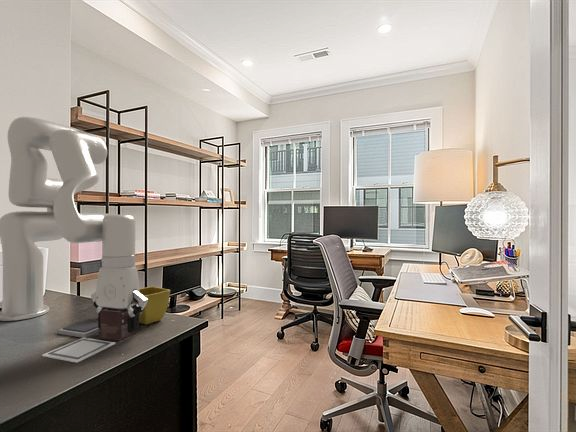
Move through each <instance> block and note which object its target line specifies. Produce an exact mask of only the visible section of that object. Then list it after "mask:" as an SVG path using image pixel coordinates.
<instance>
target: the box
mask: <svg viewBox="0 0 576 432" xmlns="http://www.w3.org/2000/svg"><path fill="white" fill-rule="evenodd" d="M132 309H133V311H134V308H133V307H132ZM100 312H101V313H100V332H99V333H100V334H99V339H101V340H102V339H103V340H115V341H121V340H124V339H125V338H127V337H130V336H131V335H134V333H136V332H137V330H136V331H133V332H131V333H128V317H130V315H129V313H128V312H127V310H126V309H113V308H104V309H102V310H100Z"/></svg>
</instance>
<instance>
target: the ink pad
mask: <svg viewBox="0 0 576 432" xmlns="http://www.w3.org/2000/svg"><path fill="white" fill-rule="evenodd" d="M98 333H100V328H98V319H94V318H86V319H84V320H82V321H79V322H75V323H74V324H71V325H70V324H69V325H68V326H65V327H62V328H59V329H58V332H57V334H58V335H64V336H71V337H77V338H89V337H91V336H92V335H96V334H98Z"/></svg>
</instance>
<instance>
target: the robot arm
mask: <svg viewBox="0 0 576 432" xmlns="http://www.w3.org/2000/svg"><path fill="white" fill-rule="evenodd" d="M7 143H8V149H9V152H10V169H9V170H10V171H9V178H8V179H9V181H8V182H9V183H8V193H7V194H8V200H9V202H10V203H11V204H12V205H13V206H16V207H21V208H36V209H38V208H42V209H43V208H45V209H46V211H35V210H34V211H30V210H29V211H28V210H27V211H26V210H25V211H22V210H21V211H13V212H9V213H5V214H4V215H2V216H1V217H0V244H1V252H2V300H1V301H0V307H1V311H0V321H1V322H13V321H20V320H27V319H33V318H37V317H40V316H42V315H45V314H47V313H48V312H50V306H49V305H46V304H44V256H43V252H42V251H41V250H40V248H39V247H38V245H36V243H37V242H50V241H51V242H52V241H57V240H58V241H59V240H61V239H63V238H64V239H65V240H66V241H67V242H69V243H71V244H84V243H85V244H86V243H94V242H101V243H102V244H101V246H102V247H101V253H102V254H101V255H102V256H101V258H100V261H101V267H100V268H99V270H98V275H97V277H96V288H95V289H96V290H95V292H93V293H92V294H91V295H90V297H91V300H92V302H93V306H94V308H95V310H96V311H95V312H96V313H97V315H98V317H97V320H98V328H100V313H101V312H100V310H102V309H104V308H113V309H126V310H127V312H128V313H129V315H130V317H128V333H131V332H133V331H136V332H137V330H139V328H140V323H139V314H141V312H142V311H143V310H144V309H145V306H146V304H147V302H148V299H147V298H145V297H144V296H143V295H142V294H140V293H139V289H140V281H139V273H138V267H136V219H135V217H134V216H133V215H131V214H113V213H104V212H103V213H99V212H98V213H97V212H95V213H93V212H92V213H91V212H90V213H85V212H82V213H79V211H78V209H77V206H76V204H75V194H76V193H80V192H83V191H85V190H88V189H91V188H92V187H94V186H95V185H96V184H98V182H99V179H100V177H99V174H98V171H97V170H96V167H95V165H100V164H102V163H104V162H105V161H106V160H107V157H108V149H107V145H106V143H105V142H104V140H103V139H102V138H100V136H96V135H93V134H91V133H89V132H87V131H85V130H81V129H78V128H75V127H72V126H67V125H64V124H60V123H57V122H53V121H50V120H45V119H41V118H37V117H30V116H20V117H17V118H15V119H14V120H12V122H11V123H10V124H9V127H8V131H7ZM41 150H45V151H50V152H51V153H52V154H51V155H52V156H53V159H54V162H55V164H56V166H57V170H58V173H59V175H60V179H58V178H49V177H47V176H48V174H47V173H48V162H47V159H46V158H45V156H44V154H43V153H42V151H41ZM138 303H139V305H138ZM132 307H133V308H134V311H133V309H132Z"/></svg>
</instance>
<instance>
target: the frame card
mask: <svg viewBox="0 0 576 432" xmlns="http://www.w3.org/2000/svg"><path fill="white" fill-rule="evenodd" d="M113 345H116V342H115V341H114V342H113V341H108V340H102V339H101V340H100V339H95V338H89V337H86V338H82V337H80V338H79V339H76V340H75V341H72V342H69V343H67V344H65V345H63V346H60V347H58V348H55V349H53V350H51V351H48V352H46V353H43V354H42V355H41V357H44V358H49V359H54V360H61V361H66V362H71V363H79V362H82V361H83V360H86V359H87V358H90V357H92V356H94V355H96V354H97V353H99V352H102V351H104V350H106V349H108V348H110V347H112V346H113Z"/></svg>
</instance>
